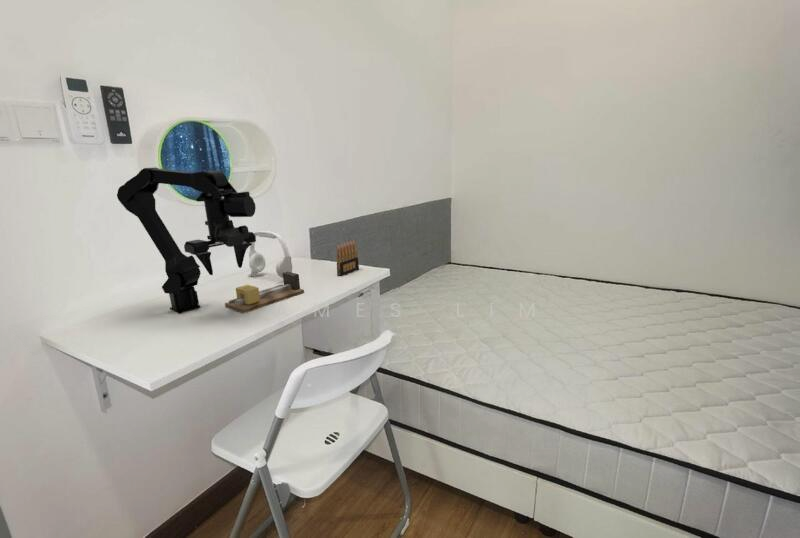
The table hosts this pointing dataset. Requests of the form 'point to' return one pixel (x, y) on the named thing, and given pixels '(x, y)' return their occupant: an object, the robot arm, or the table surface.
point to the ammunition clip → (347, 259)
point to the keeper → (248, 293)
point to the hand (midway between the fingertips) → (226, 271)
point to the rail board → (264, 301)
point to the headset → (259, 261)
